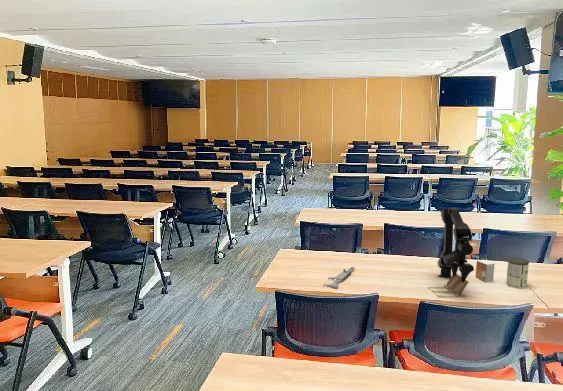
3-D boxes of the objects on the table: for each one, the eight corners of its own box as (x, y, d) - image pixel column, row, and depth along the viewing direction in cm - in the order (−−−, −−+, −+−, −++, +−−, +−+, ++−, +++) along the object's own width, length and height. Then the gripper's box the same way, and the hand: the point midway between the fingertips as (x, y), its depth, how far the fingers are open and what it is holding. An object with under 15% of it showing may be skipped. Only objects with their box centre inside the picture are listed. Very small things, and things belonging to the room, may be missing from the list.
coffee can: (507, 280, 273) (509, 256, 271) (527, 284, 268) (529, 259, 266) (504, 286, 265) (506, 261, 262) (525, 289, 259) (528, 264, 257)
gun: (342, 263, 295) (357, 264, 290) (342, 269, 296) (358, 269, 291) (319, 282, 263) (336, 283, 259) (319, 288, 264) (337, 290, 259)
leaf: (445, 289, 261) (443, 287, 260) (456, 273, 260) (453, 271, 259) (458, 299, 247) (455, 297, 247) (469, 282, 246) (466, 280, 246)
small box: (475, 278, 277) (476, 260, 276) (482, 277, 279) (484, 259, 277) (485, 282, 270) (486, 264, 268) (493, 281, 272) (494, 263, 270)
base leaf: (427, 289, 259) (427, 286, 259) (447, 288, 261) (447, 285, 260) (438, 299, 246) (439, 295, 245) (459, 298, 247) (459, 295, 247)
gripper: (437, 245, 258) (435, 273, 261) (454, 255, 240) (451, 285, 243) (457, 244, 260) (455, 273, 262) (475, 254, 241) (472, 285, 244)
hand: (458, 278), depth 253 cm, fingers open, 9 cm apart
